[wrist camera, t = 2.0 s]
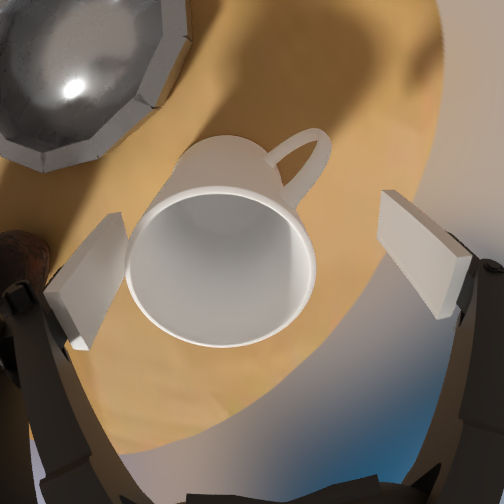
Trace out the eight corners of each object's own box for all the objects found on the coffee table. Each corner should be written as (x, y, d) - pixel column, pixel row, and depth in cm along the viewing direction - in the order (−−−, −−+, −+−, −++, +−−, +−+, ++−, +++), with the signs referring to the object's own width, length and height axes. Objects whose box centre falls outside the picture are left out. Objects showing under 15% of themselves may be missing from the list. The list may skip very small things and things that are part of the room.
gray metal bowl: (9, 180, 20) (-11, 191, 17) (-5, 3, 11) (-25, 0, 8) (203, 134, 20) (198, 141, 18) (187, -76, 11) (181, -94, 8)
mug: (267, 83, 19) (306, 70, 8) (335, 171, 22) (415, 244, 12) (148, 186, 22) (83, 272, 12) (221, 258, 26) (215, 373, 15)
